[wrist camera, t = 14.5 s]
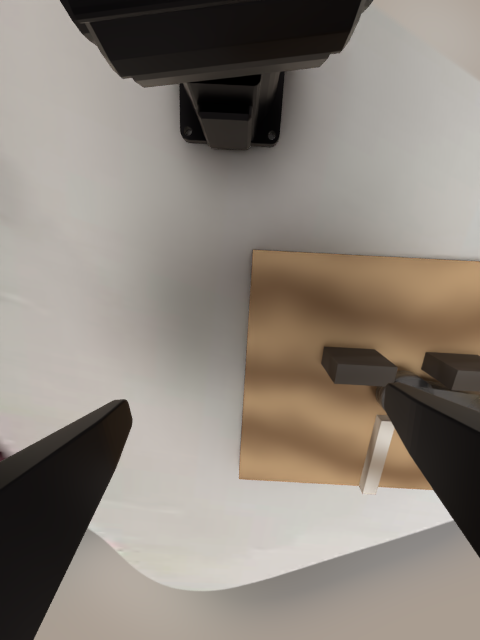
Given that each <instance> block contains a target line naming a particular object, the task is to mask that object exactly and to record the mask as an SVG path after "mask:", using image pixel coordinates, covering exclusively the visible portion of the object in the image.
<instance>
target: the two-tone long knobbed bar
mask: <svg viewBox="0 0 480 640" xmlns="http://www.w3.org/2000/svg"><path fill="white" fill-rule="evenodd" d="M397 382H399V383H403V384H406V385H409V386H411V387H414V388H417V389H419V390H422V391H425V392H427V393H430V394H433V395H435V396H438V397H441V398H444V399H446V400H449V401H452V402H454V403H457V404H460V405H462V406H465V407H468V408H470V409H473V410H476V411H478V412H480V392H476V391H458V390H450V389H449V388H447V387H446V386H445V385H443V384H442V383H439V382H432V381H425V380H423V379H422V378H420V377H419V376H418V375H416V374H415V373H413V372H410V371H405V370H401V371H397V373H396V377H395V380H394V383H397ZM385 388H386V387H384V386H377V388H376V393H375V395H376V400H377V402H378V403H379V405H380V406H381V407H382V408H383V409H384V397H385ZM384 410H385V409H384ZM385 412H386V411H385Z"/></svg>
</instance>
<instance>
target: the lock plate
mask: <svg viewBox="0 0 480 640" xmlns="http://www.w3.org/2000/svg"><path fill="white" fill-rule="evenodd" d="M401 370H405V371H410V372H413V373H415V374H416V375H418V376H419V377H420V378H422V379H423V380H425V381H432V382H439V383H442V384H443V385H445V386H446V387H447V388H449V389H450V390H458V391H476V392H480V262H478V261H459V260H440V259H421V258H401V257H382V256H363V255H344V254H325V253H305V252H286V251H267V250H253V255H252V271H251V287H250V303H249V319H248V335H247V351H246V367H245V383H244V399H243V415H242V431H241V447H240V463H239V479H246V480H264V481H282V482H300V483H318V484H335V485H353V486H359V487H360V489H361V492H362V494H372V495H376V492H377V488H378V487H389V488H407V489H425V490H433V489H432V487H431V486H430V484H429V483H428V481H427V480H426V478H425V477H424V475H423V474H422V472H421V471H420V470H419V468H418V467H417V465H416V464H415V462H414V461H413V459H412V458H411V456H410V455H409V453H408V451H407V449H406V448H405V446H404V444H403V442H402V441H401V439H400V437H399V435H398V433H397V432H396V430H395V428H394V426H393V424H392V422H391V421H390V419H389V417H388V415H387V413H386V412H385V410H384V409H383V408H382V407H381V406H380V405H379V403H378V402H377V400H376V395H375V393H376V388H377V386H384V387H386V385H387V384H388V383H394V380H395V377H396V373H397V371H401Z"/></svg>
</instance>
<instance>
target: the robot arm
mask: <svg viewBox="0 0 480 640" xmlns="http://www.w3.org/2000/svg"><path fill="white" fill-rule="evenodd" d="M60 1H61V3H62V5H63V6H64V8H65V10H66V11H67V13H68V14H69V16H70V18H71V19H72V21H73V22H74V24H75V25H76V26H77V28H78V29H79V30H80V31H81V33H82V34H83V35H84V36H85V37H86V38H87V39H88V40H89V41H91V42H92V43H94V44H95V45H97V46H98V48H99V50H100V52H101V53H102V55H103V56H104V58H105V59H106V61H107V62H108V64H109V65H110V66H111V68H112V69H113V70H114V71H115V72H116V73H117V74H118V75H119V76H120V77H121V78H123V79H125V78H133V80H134V81H135V82H137V83H138V84H140V85H141V86H142V87H144V88H145V87H154V86H162V85H171V84H180V132H181V135H182V137H183V139H184V140H185V141H186V142H190V143H208V145H209V146H210V147H211V148H217V149H237V150H247V149H248V148H249V147H250V146H270V147H271V146H274V145H276V143H277V142H278V139H279V135H280V122H281V110H282V98H283V86H284V74H285V71H291V70H299V69H308V68H316V67H320V66H321V65H322V64H323V63H324V62H325V61H326V60H327V59H328V57H329V55H330V54H336V53H340V52H341V51H342V50H343V48H344V47H345V46H346V44H347V43H348V42H349V40H350V38H351V36H352V34H353V32H354V29H355V27H356V25H357V23H358V21H359V19H360V16H361V14H362V13H363V12H364V11H365V10H366V9H367V8H368V7H369V5H370V4H371V3H372V1H373V0H60ZM188 129H190V130H192V133H191V135H189V136H187V135H186V134H185V133H186V131H187V130H188ZM271 133H272V134H274V136H275V138H274V139H273V140H270V139H269V138H268V135H269V134H271ZM384 409H385V411H386V413H387V415H388V417H389V419H390V421H391V422H392V424H393V426H394V428H395V430H396V432H397V433H398V435H399V437H400V439H401V441H402V442H403V444H404V446H405V448H406V449H407V451H408V453H409V455H410V456H411V458H412V459H413V461H414V462H415V464H416V465H417V467H418V468H419V470H420V471H421V472H422V474H423V475H424V477H425V478H426V480H427V481H428V483H429V484H430V486H431V487H432V489H433V490H434V492H435V493H436V494H437V496H438V497H439V499H440V500H441V502H442V503H443V505H444V506H445V508H446V509H447V511H448V512H449V514H450V515H451V516H452V518H453V519H454V521H455V522H456V524H457V525H458V527H459V528H460V530H461V531H462V533H463V534H464V536H465V537H466V538H467V540H468V541H469V543H470V544H471V546H472V547H473V549H474V550H475V552H476V553H477V555H478V556H479V557H480V412H478V411H476V410H473V409H470V408H468V407H465V406H462V405H460V404H457V403H454V402H452V401H449V400H446V399H444V398H441V397H438V396H435V395H433V394H430V393H427V392H425V391H422V390H419V389H417V388H414V387H411V386H409V385H406V384H403V383H399V382H397V383H388V384H387V385H386V388H385V397H384ZM131 427H132V415H131V411H130V407H129V404H128V401H127V400H125V399H122V400H114V401H112V402H110V403H108V404H106V405H104V406H102V407H101V408H99V409H97V410H95V411H93V412H91V413H89V414H88V415H86V416H84V417H82V418H80V419H78V420H77V421H75V422H73V423H71V424H69V425H67V426H65V427H64V428H62V429H60V430H58V431H56V432H54V433H52V434H51V435H49V436H47V437H45V438H43V439H41V440H40V441H38V442H36V443H34V444H32V445H30V446H28V447H27V448H25V449H23V450H21V451H19V452H17V453H16V454H14V455H12V456H10V457H8V458H6V459H4V460H3V461H1V462H0V640H34V637H35V635H36V633H37V631H38V629H39V627H40V625H41V623H42V621H43V619H44V617H45V615H46V613H47V610H48V608H49V606H50V604H51V602H52V600H53V598H54V596H55V594H56V592H57V590H58V587H59V586H60V583H61V581H62V579H63V577H64V575H65V573H66V571H67V569H68V567H69V565H70V563H71V561H72V559H73V556H74V555H75V552H76V550H77V548H78V546H79V544H80V542H81V540H82V538H83V536H84V534H85V532H86V530H87V528H88V526H89V523H90V521H91V519H92V517H93V515H94V513H95V511H96V509H97V507H98V505H99V503H100V501H101V499H102V496H103V494H104V492H105V490H106V488H107V486H108V484H109V482H110V480H111V478H112V476H113V473H114V471H115V469H116V467H117V464H118V462H119V459H120V456H121V454H122V451H123V448H124V446H125V443H126V440H127V438H128V435H129V432H130V429H131Z"/></svg>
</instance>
